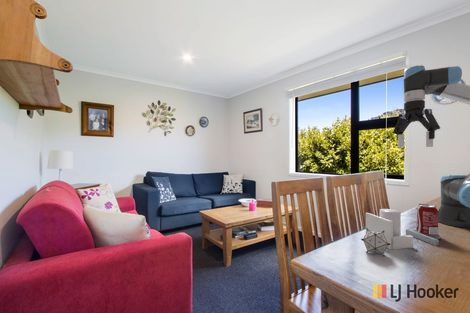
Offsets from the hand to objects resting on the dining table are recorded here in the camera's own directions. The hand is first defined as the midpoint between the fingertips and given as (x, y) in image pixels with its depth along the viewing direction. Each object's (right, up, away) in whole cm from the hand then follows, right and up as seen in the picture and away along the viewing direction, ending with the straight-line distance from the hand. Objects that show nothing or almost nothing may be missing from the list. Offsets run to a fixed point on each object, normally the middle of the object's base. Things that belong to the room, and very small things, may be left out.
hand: (414, 147), depth 102 cm
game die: (-35, -38, -26) cm, 58 cm away
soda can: (-4, -36, -11) cm, 38 cm away
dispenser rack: (-19, -37, -16) cm, 45 cm away
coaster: (-4, -37, -10) cm, 38 cm away
